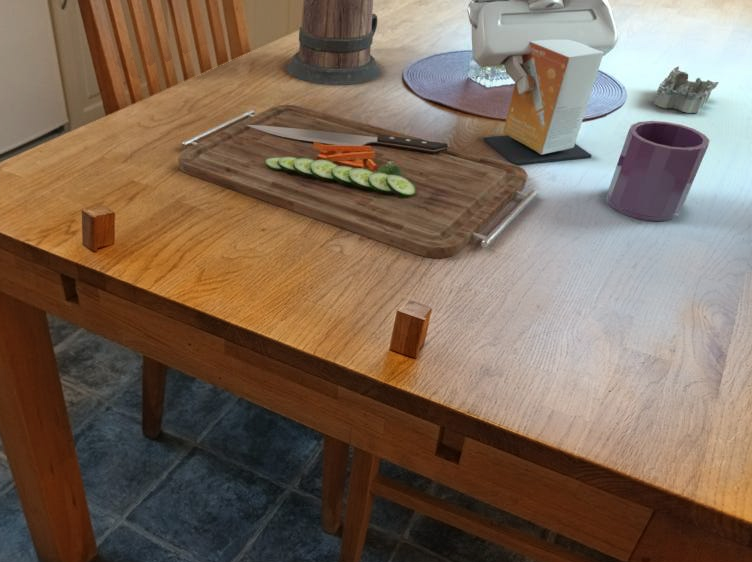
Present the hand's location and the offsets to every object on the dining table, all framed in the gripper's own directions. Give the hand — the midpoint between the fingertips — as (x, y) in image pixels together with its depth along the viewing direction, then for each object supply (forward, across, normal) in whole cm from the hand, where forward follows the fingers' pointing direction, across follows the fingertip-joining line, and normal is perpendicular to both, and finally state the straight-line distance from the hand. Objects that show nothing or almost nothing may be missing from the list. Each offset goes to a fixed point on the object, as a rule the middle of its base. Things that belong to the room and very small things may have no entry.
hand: (554, 89), depth 97 cm
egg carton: (-3, +34, +15) cm, 37 cm away
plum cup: (+19, +4, -7) cm, 20 cm away
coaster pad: (+6, 0, +6) cm, 9 cm away
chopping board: (+7, -29, +5) cm, 30 cm away
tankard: (-24, -15, +36) cm, 46 cm away
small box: (+5, 0, +6) cm, 8 cm away
